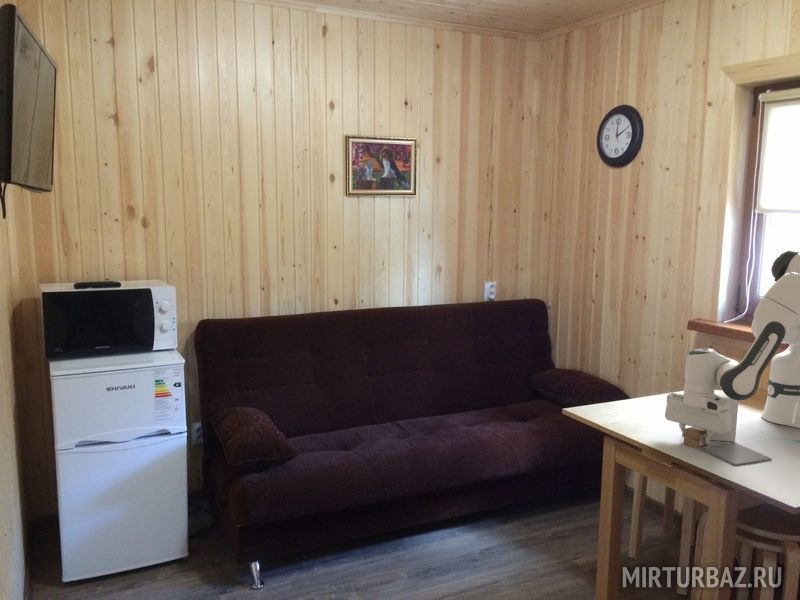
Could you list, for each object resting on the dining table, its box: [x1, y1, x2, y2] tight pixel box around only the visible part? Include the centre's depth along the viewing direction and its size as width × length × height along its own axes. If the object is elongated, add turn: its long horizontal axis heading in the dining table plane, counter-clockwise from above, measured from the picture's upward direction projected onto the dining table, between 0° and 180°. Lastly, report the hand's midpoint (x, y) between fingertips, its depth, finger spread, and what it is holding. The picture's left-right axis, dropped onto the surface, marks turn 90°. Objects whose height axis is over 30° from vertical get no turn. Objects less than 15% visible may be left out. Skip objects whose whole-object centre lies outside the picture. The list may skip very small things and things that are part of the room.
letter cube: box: [683, 426, 708, 450], centre depth 211 cm, size 5×5×5 cm
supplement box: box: [710, 389, 740, 442], centre depth 218 cm, size 9×9×15 cm
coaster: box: [699, 442, 773, 467], centre depth 203 cm, size 14×14×1 cm
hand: (695, 439), depth 211 cm, fingers closed on letter cube, 5 cm apart
